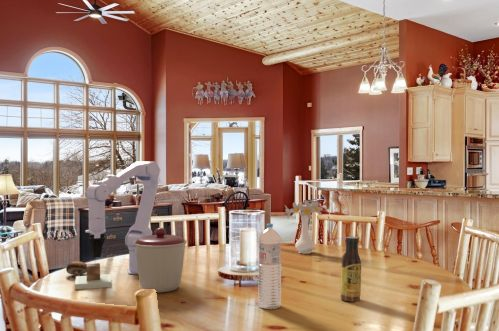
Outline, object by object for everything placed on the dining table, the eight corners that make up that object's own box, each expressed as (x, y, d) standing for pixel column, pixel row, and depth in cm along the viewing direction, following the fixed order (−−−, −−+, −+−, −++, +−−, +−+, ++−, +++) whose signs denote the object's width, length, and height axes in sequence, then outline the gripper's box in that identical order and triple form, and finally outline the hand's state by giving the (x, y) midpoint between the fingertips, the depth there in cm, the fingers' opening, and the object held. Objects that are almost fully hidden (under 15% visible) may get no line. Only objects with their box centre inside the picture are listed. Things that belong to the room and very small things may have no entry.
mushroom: (79, 271, 179) (79, 255, 182) (61, 278, 180) (61, 262, 184) (92, 277, 185) (92, 262, 189) (75, 283, 187) (75, 269, 190)
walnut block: (99, 276, 175) (99, 263, 175) (100, 279, 171) (100, 265, 171) (86, 277, 174) (86, 264, 174) (86, 280, 170) (86, 266, 170)
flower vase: (282, 250, 238) (282, 199, 237) (319, 250, 239) (319, 199, 239) (287, 255, 225) (287, 202, 224) (325, 255, 226) (326, 201, 226)
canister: (193, 284, 173) (193, 225, 173) (176, 297, 155) (176, 232, 155) (146, 281, 176) (146, 223, 176) (123, 294, 159) (123, 230, 159)
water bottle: (257, 303, 149) (257, 222, 149) (279, 302, 150) (279, 222, 149) (259, 310, 142) (259, 225, 142) (282, 309, 143) (282, 225, 143)
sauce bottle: (347, 303, 149) (348, 239, 149) (336, 298, 155) (336, 236, 155) (365, 301, 152) (365, 238, 151) (353, 296, 157) (353, 235, 157)
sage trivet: (110, 278, 180) (110, 274, 180) (111, 286, 169) (111, 281, 169) (76, 281, 176) (76, 276, 176) (74, 289, 165) (74, 284, 165)
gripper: (85, 215, 181) (85, 252, 181) (85, 220, 167) (85, 259, 167) (105, 215, 183) (105, 250, 183) (106, 219, 169) (106, 258, 170)
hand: (97, 255), depth 176 cm, fingers open, 7 cm apart
